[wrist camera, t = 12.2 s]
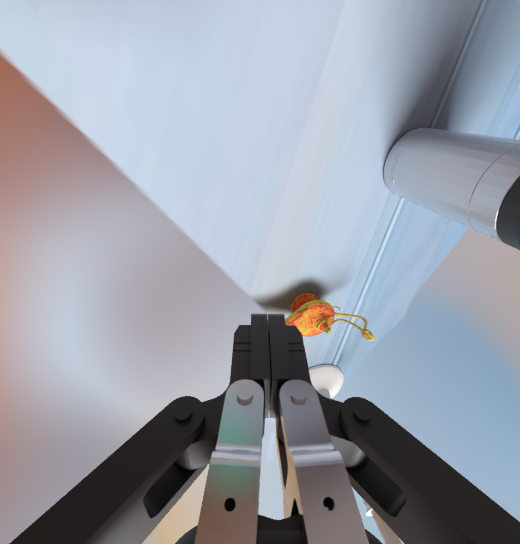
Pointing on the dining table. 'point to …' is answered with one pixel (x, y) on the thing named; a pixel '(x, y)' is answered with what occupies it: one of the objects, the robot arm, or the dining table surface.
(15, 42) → the dining table surface
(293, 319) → the magic lamp
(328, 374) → the candlestick
